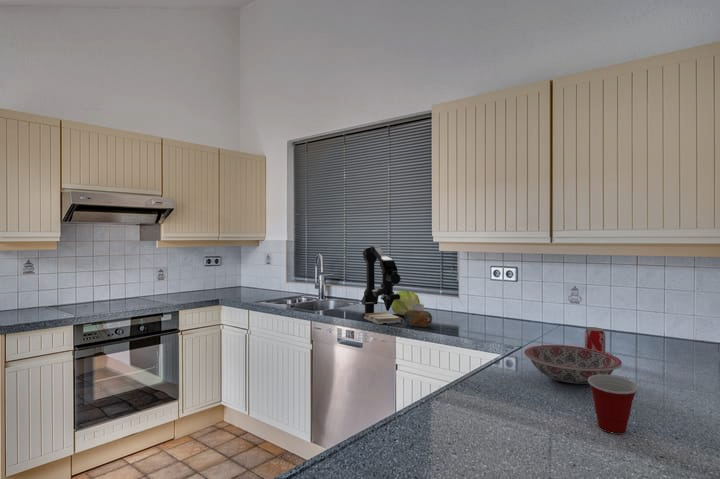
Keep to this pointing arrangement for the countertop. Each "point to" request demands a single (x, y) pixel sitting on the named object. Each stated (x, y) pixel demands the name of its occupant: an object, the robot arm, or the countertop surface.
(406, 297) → the lettuce
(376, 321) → the underlay board
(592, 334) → the soda can
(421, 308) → the drinking glass
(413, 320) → the brown rounded block
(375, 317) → the oak plank
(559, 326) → the countertop surface
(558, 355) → the ceramic bowl
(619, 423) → the plastic cup
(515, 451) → the countertop surface
